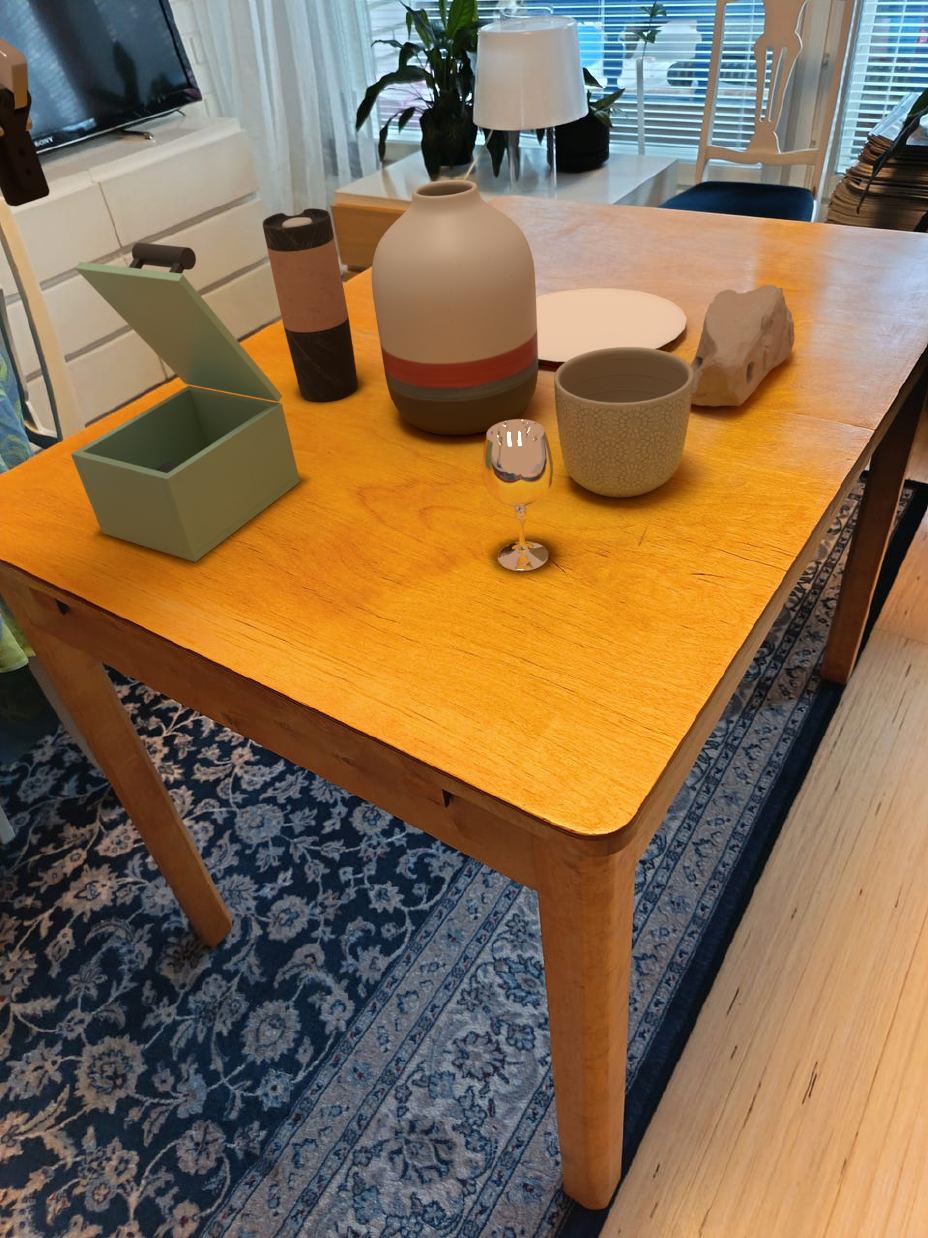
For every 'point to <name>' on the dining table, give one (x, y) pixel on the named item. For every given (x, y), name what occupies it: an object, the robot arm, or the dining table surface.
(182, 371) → the cool box lid
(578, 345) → the plate
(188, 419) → the cool box
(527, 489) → the wineglass
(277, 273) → the travel mug
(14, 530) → the dining table surface
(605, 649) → the dining table surface
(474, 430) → the vase
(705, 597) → the dining table surface
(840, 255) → the dining table surface
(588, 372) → the planter
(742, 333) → the decorative stone
